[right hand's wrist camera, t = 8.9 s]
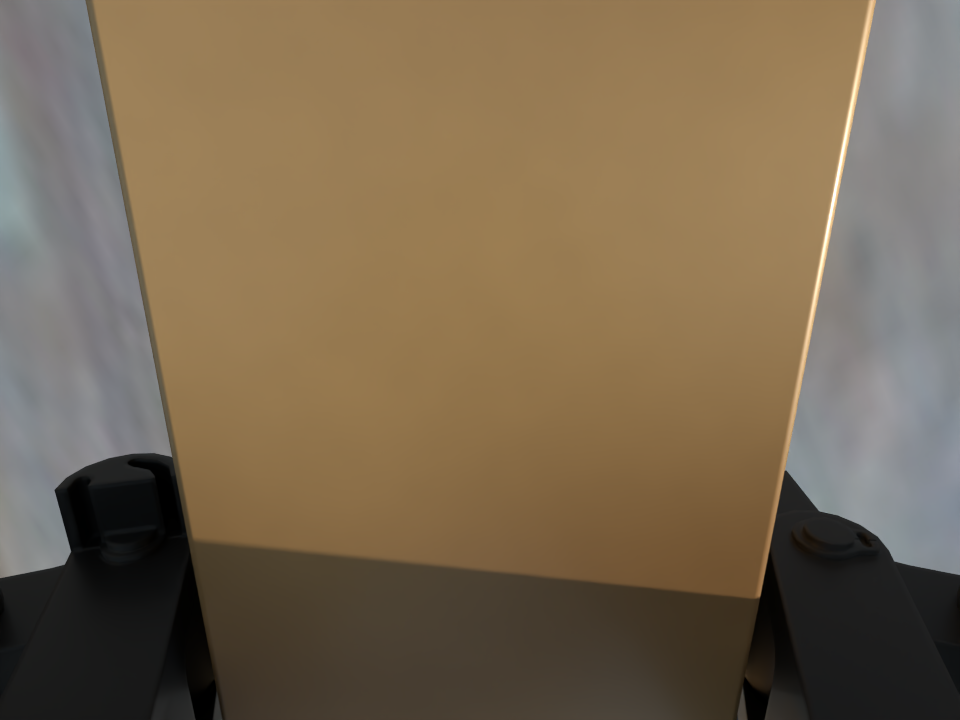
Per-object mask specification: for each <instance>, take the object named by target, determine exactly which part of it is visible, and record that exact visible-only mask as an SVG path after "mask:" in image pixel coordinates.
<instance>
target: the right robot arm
mask: <svg viewBox="0 0 960 720" xmlns="http://www.w3.org/2000/svg"><path fill="white" fill-rule="evenodd" d="M55 493H56V497H57V501H58V504H59V508H60V512H61V515H62V519H63V523H64V526H65V530H66V534H67V538H68V541H69V545H70V549H71V553H70V555H69V557H68V559H67V561H66V563H65V565H62V566H58V567H54V568H50V569H45V570H40V571H35V572H30V573H25V574H20V575H15V576H10V577H5V578H0V720H222V715H221V710H220V705H219V700H218V694H217V689H216V684H215V679H214V673H213V668H212V663H211V658H210V652H209V647H208V642H207V636H206V631H205V626H204V621H203V615H202V610H201V605H200V600H199V594H198V589H197V584H196V579H195V573H194V568H193V563H192V558H191V552H190V547H189V542H188V536H187V531H186V526H185V521H184V515H183V510H182V505H181V500H180V494H179V489H178V484H177V479H176V473H175V468H174V463H173V458H172V457H169V456H164V455H160V454H155V453H147V454H129V455H124V456H119V457H114V458H109V459H106V460H103V461H100V462H97V463H95V464H92V465H89V466H86V467H84V468H83V469H81V470H79V471H77V472H76V473H74V474H72V475H70V476H69V477H67V478H66V479H65V480H64V481H63V482H62V483H61V484H60V485H59V486H58V487H57V488H56V489H55ZM736 720H960V575H956V574H951V573H946V572H941V571H935V570H930V569H925V568H920V567H915V566H910V565H906V564H902V563H898V562H894V560H893V558H892V556H891V554H890V552H889V550H888V549H887V548H886V547H885V545H884V544H883V543H882V542H881V540H880V539H879V538H878V537H877V536H876V535H874V534H873V533H871V532H870V531H868V530H867V529H865V528H864V527H862V526H861V525H859V524H857V523H854V522H852V521H849V520H847V519H845V518H842V517H840V516H837V515H833V514H828V513H824V512H819V511H818V509H817V508H816V507H815V506H814V504H813V503H812V502H811V501H810V499H809V498H808V497H807V496H806V494H805V493H804V492H803V491H802V489H801V488H800V487H799V486H798V484H797V483H796V482H795V481H794V480H793V478H792V477H791V476H790V475H789V473H788V472H787V471H784V477H783V482H782V487H781V492H780V497H779V502H778V508H777V513H776V518H775V523H774V528H773V533H772V538H771V544H770V549H769V554H768V559H767V564H766V569H765V575H764V580H763V585H762V590H761V595H760V600H759V606H758V611H757V616H756V621H755V626H754V631H753V636H752V642H751V647H750V652H749V657H748V662H747V667H746V673H745V678H744V683H743V688H742V693H741V698H740V703H739V709H738V714H737V719H736Z"/></svg>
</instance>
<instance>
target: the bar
mask: <svg viewBox="0 0 960 720" xmlns="http://www.w3.org/2000/svg"><path fill="white" fill-rule="evenodd" d="M875 2H876V0H86V5H87V10H88V15H89V21H90V26H91V31H92V37H93V42H94V47H95V52H96V58H97V63H98V68H99V73H100V79H101V84H102V89H103V94H104V100H105V105H106V110H107V115H108V121H109V126H110V131H111V137H112V142H113V147H114V152H115V158H116V163H117V168H118V173H119V179H120V184H121V189H122V194H123V200H124V205H125V210H126V215H127V221H128V226H129V231H130V236H131V242H132V247H133V252H134V258H135V263H136V268H137V273H138V279H139V284H140V289H141V294H142V300H143V305H144V310H145V315H146V321H147V326H148V331H149V336H150V342H151V347H152V352H153V358H154V363H155V368H156V373H157V379H158V384H159V389H160V394H161V400H162V405H163V410H164V415H165V421H166V426H167V431H168V436H169V442H170V447H171V452H172V458H173V463H174V468H175V473H176V479H177V484H178V489H179V494H180V500H181V505H182V510H183V515H184V521H185V526H186V531H187V536H188V542H189V547H190V552H191V558H192V563H193V568H194V573H195V579H196V584H197V589H198V594H199V600H200V605H201V610H202V615H203V621H204V626H205V631H206V636H207V642H208V647H209V652H210V658H211V663H212V668H213V673H214V679H215V684H216V689H217V694H218V700H219V705H220V710H221V715H222V720H736V719H737V714H738V709H739V703H740V698H741V693H742V688H743V683H744V678H745V673H746V667H747V662H748V657H749V652H750V647H751V642H752V636H753V631H754V626H755V621H756V616H757V611H758V606H759V600H760V595H761V590H762V585H763V580H764V575H765V569H766V564H767V559H768V554H769V549H770V544H771V538H772V533H773V528H774V523H775V518H776V513H777V508H778V502H779V497H780V492H781V487H782V482H783V477H784V471H785V466H786V461H787V456H788V451H789V446H790V441H791V435H792V430H793V425H794V420H795V415H796V410H797V404H798V399H799V394H800V389H801V384H802V379H803V373H804V368H805V363H806V358H807V353H808V348H809V343H810V337H811V332H812V327H813V322H814V317H815V312H816V306H817V301H818V296H819V291H820V286H821V281H822V276H823V270H824V265H825V260H826V255H827V250H828V245H829V239H830V234H831V229H832V224H833V219H834V214H835V208H836V203H837V198H838V193H839V188H840V183H841V178H842V172H843V167H844V162H845V157H846V152H847V147H848V141H849V136H850V131H851V126H852V121H853V116H854V111H855V105H856V100H857V95H858V90H859V85H860V80H861V74H862V69H863V64H864V59H865V54H866V49H867V43H868V38H869V33H870V28H871V23H872V18H873V13H874V7H875Z"/></svg>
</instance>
